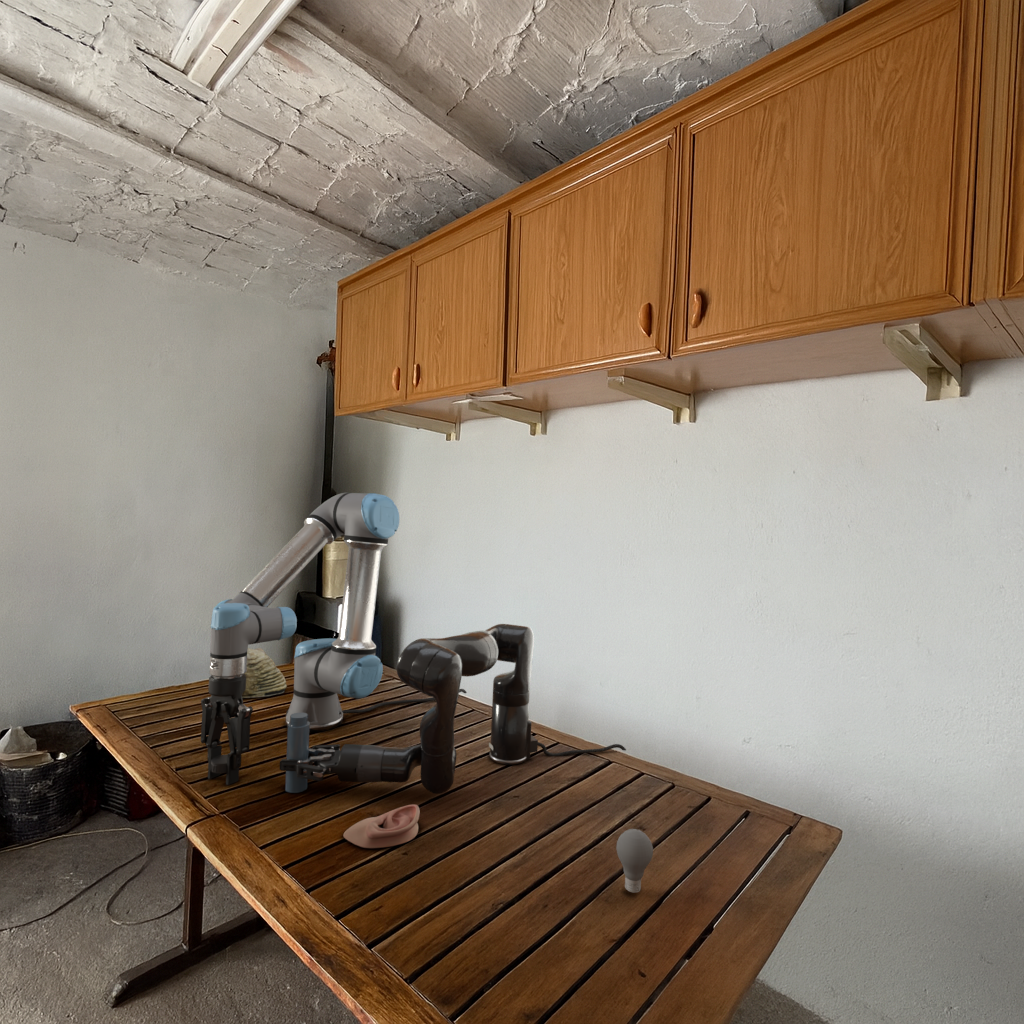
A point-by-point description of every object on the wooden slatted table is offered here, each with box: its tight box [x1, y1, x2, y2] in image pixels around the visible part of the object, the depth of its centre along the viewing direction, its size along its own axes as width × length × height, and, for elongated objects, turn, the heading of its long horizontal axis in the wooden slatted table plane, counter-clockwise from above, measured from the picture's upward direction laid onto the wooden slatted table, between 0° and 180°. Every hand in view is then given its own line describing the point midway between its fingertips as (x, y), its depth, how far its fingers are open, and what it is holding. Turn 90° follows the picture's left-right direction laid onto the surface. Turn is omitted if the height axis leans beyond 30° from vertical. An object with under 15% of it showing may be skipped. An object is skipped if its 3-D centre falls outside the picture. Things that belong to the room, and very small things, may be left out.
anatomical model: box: [342, 804, 421, 849], centre depth 120 cm, size 13×4×12 cm
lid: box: [210, 754, 228, 774], centre depth 139 cm, size 5×5×2 cm
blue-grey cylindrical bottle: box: [284, 712, 310, 794], centre depth 137 cm, size 5×5×16 cm
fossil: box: [242, 647, 288, 699], centre depth 198 cm, size 9×18×15 cm, turn 132°
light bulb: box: [615, 828, 654, 894], centre depth 106 cm, size 6×6×10 cm
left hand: (223, 779), depth 140 cm, fingers closed on lid, 5 cm apart
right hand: (285, 759), depth 137 cm, fingers closed on blue-grey cylindrical bottle, 4 cm apart
